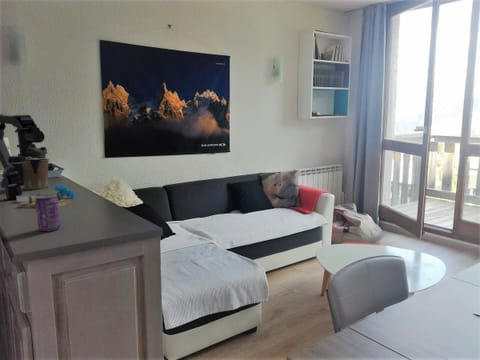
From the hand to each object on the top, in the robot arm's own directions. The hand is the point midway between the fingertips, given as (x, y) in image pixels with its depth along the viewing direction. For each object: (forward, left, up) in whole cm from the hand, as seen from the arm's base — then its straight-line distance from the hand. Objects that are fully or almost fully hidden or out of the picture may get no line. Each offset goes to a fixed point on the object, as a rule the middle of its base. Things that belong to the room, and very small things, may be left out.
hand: (29, 175), depth 187 cm
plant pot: (-23, +33, -13) cm, 42 cm away
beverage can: (+40, -43, -13) cm, 61 cm away
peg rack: (+12, -7, -12) cm, 19 cm away
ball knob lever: (+1, 0, -12) cm, 12 cm away
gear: (+14, +4, -13) cm, 19 cm away
